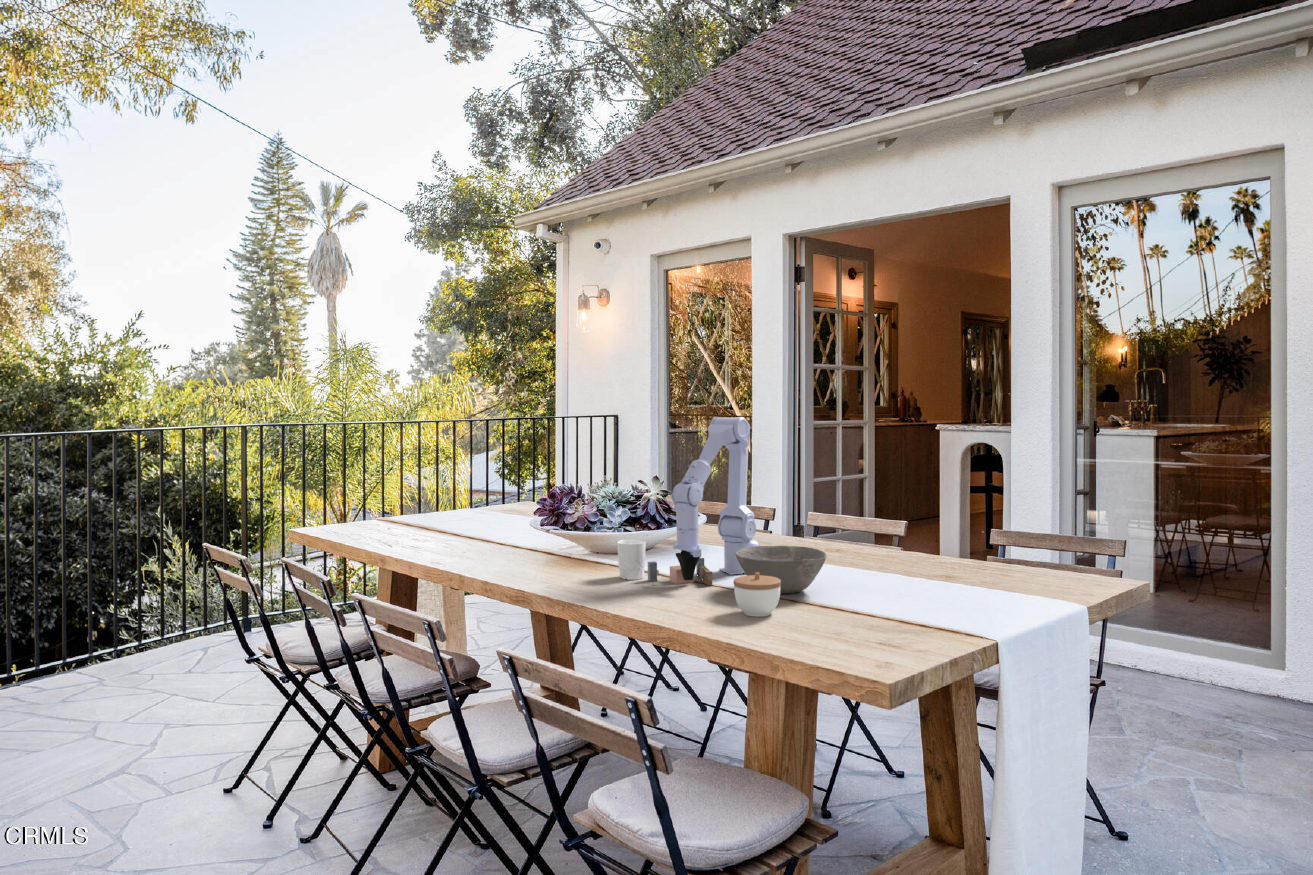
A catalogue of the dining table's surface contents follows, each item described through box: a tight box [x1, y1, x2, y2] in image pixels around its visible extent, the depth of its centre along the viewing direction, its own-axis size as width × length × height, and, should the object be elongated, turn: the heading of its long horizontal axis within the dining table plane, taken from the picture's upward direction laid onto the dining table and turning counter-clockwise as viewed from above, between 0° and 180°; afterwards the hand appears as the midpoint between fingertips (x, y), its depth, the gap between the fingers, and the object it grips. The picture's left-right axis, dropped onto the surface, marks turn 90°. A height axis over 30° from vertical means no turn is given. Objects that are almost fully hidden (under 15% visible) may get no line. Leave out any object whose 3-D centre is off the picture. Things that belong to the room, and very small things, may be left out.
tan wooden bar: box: [699, 564, 713, 587], centre depth 229 cm, size 10×1×4 cm, turn 9°
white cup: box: [616, 539, 647, 581], centre depth 236 cm, size 8×8×10 cm
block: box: [669, 565, 695, 585], centre depth 231 cm, size 5×5×4 cm
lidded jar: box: [733, 572, 781, 618], centre depth 195 cm, size 11×11×9 cm
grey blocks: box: [647, 557, 705, 582], centre depth 234 cm, size 16×2×5 cm, turn 109°
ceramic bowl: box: [735, 545, 827, 595], centre depth 217 cm, size 22×23×10 cm
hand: (688, 579), depth 226 cm, fingers closed
